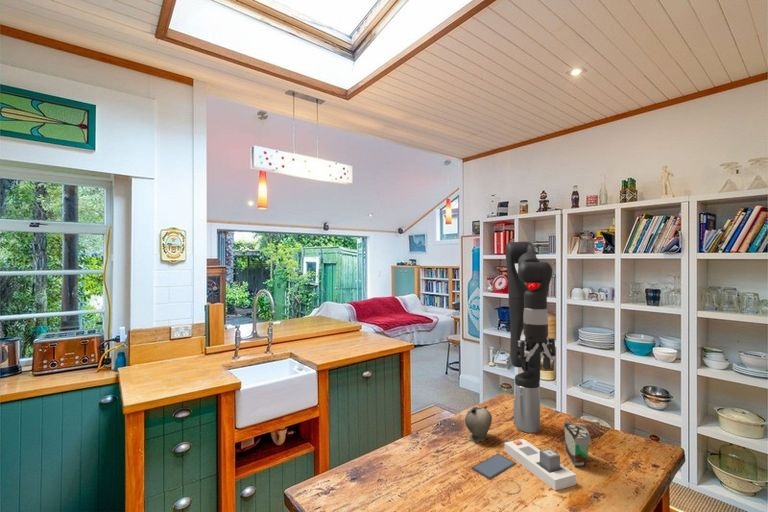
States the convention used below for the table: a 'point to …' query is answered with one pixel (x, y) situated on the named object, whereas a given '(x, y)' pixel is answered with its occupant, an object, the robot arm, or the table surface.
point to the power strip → (531, 461)
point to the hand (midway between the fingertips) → (536, 370)
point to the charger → (549, 460)
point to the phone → (493, 466)
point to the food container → (576, 444)
